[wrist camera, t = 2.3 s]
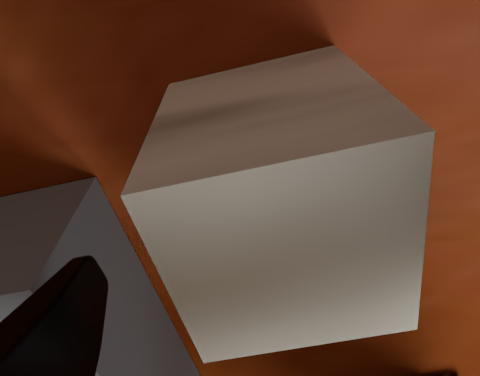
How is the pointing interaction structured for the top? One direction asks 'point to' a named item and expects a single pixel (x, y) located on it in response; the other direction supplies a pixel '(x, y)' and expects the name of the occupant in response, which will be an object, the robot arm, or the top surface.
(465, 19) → the top surface
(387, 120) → the cream block
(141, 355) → the plinth
